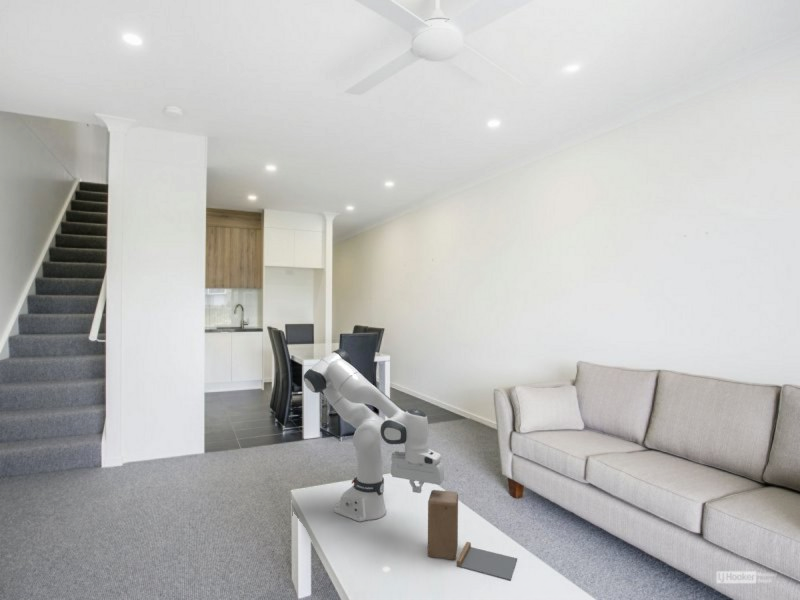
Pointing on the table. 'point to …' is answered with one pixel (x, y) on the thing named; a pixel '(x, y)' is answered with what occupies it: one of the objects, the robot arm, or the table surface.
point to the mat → (486, 562)
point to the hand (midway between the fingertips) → (416, 492)
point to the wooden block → (443, 524)
